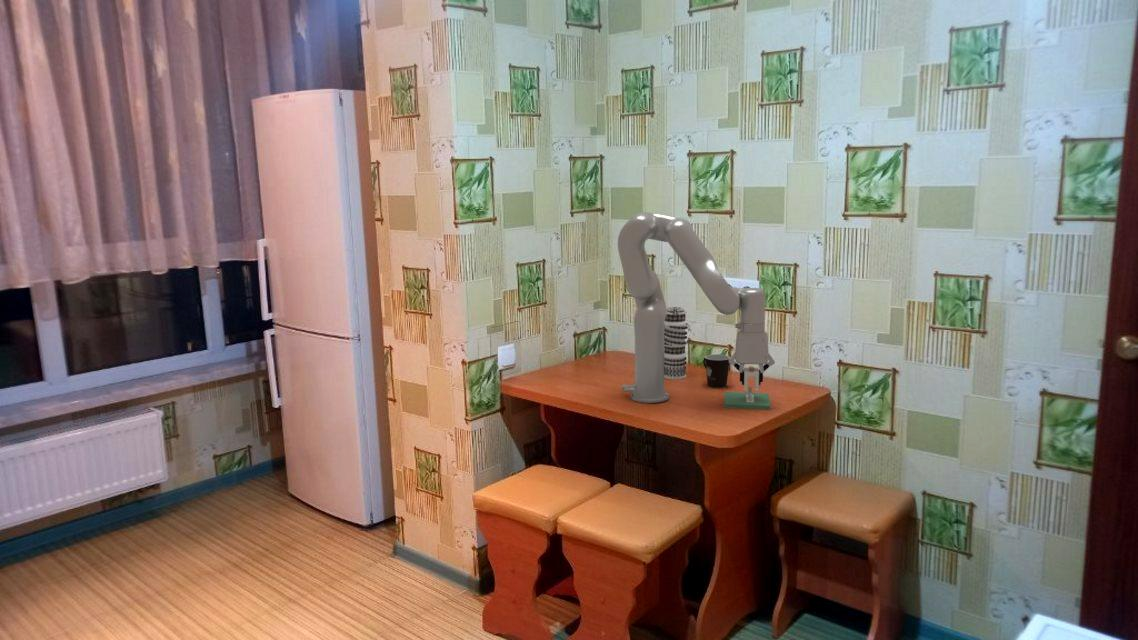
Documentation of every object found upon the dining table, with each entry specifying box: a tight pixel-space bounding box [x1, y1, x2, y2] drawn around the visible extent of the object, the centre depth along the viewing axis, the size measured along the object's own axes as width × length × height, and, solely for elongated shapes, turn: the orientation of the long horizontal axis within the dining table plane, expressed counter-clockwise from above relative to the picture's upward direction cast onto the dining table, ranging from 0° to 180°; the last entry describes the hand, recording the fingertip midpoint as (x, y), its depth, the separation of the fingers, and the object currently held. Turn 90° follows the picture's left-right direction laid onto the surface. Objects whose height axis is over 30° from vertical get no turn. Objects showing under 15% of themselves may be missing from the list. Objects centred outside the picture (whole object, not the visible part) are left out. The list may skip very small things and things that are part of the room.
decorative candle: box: [664, 306, 689, 380], centre depth 281 cm, size 9×9×25 cm
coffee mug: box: [702, 353, 731, 389], centre depth 271 cm, size 12×9×10 cm
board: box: [723, 386, 771, 411], centre depth 250 cm, size 14×14×4 cm
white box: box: [743, 365, 760, 392], centre depth 249 cm, size 4×8×6 cm, turn 169°
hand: (751, 383), depth 249 cm, fingers closed on white box, 4 cm apart
